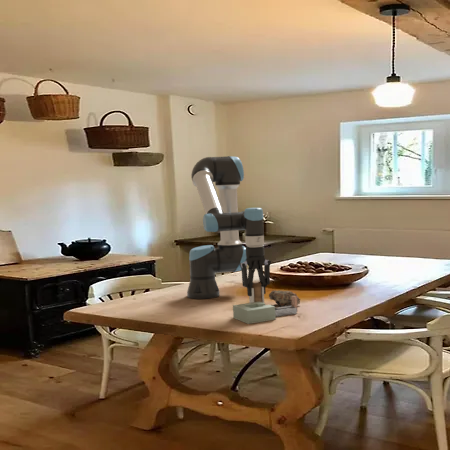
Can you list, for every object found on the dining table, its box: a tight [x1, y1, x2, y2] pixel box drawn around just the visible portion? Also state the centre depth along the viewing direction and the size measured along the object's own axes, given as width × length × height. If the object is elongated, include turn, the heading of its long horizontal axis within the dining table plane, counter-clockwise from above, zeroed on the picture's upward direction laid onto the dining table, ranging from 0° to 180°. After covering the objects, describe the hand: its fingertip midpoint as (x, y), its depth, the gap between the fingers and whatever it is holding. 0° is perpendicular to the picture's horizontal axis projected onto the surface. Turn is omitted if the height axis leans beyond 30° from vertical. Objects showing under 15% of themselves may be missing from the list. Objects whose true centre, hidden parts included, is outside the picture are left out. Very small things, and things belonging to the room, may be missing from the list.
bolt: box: [275, 296, 298, 310], centre depth 245 cm, size 2×9×6 cm, turn 117°
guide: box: [275, 306, 298, 318], centre depth 244 cm, size 5×12×2 cm, turn 117°
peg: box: [252, 281, 262, 302], centre depth 250 cm, size 4×4×12 cm
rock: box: [268, 289, 301, 307], centre depth 261 cm, size 7×11×10 cm
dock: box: [232, 302, 276, 325], centre depth 238 cm, size 12×12×5 cm
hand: (256, 302), depth 250 cm, fingers closed on peg, 4 cm apart
